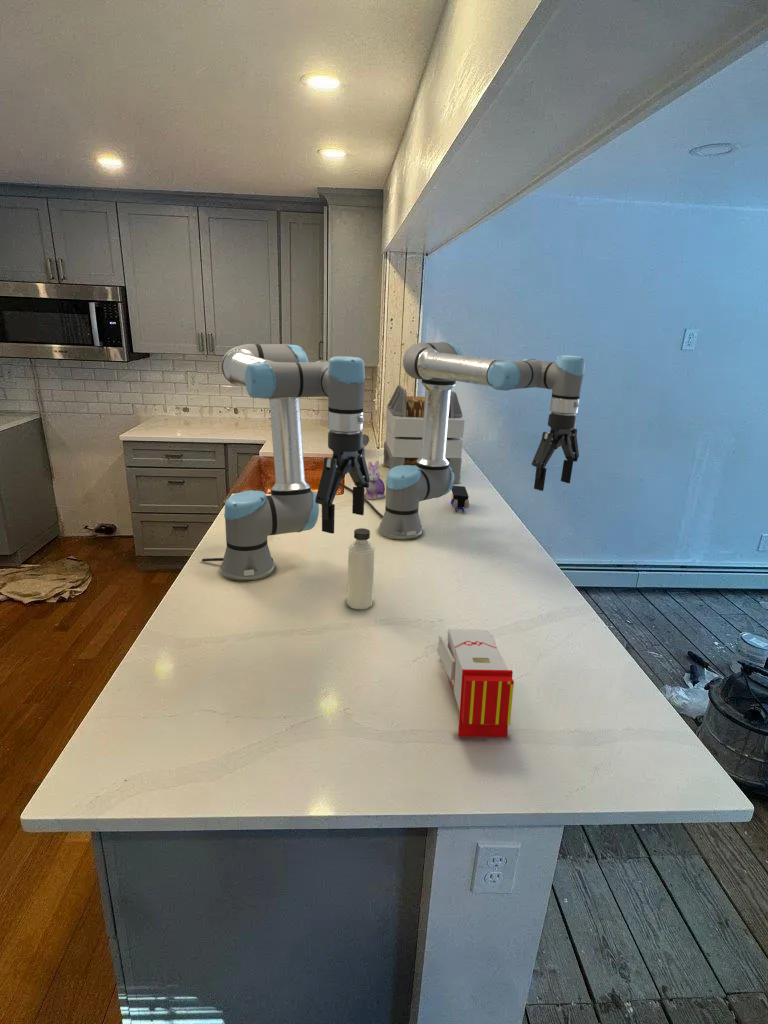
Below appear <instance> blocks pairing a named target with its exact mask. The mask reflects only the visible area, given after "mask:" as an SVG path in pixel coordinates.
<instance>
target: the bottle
mask: <svg viewBox="0 0 768 1024" xmlns="http://www.w3.org/2000/svg"><path fill="white" fill-rule="evenodd" d="M347 558H348V560H347V563H348V564H347V599H346V600H347V602H346V603H347V606H348V607H349V608H352V609H355V610H366V609H369V608H371V607H372V605H373V597H374V595H373V593H374V569H375V568H374V567H375V547H374V545H373V544H372V543H371V542H370V541H369V540H368V539H367V540H357V539H355V540H354V541H353V542H352V543H350V545H349V546H348V556H347Z"/></svg>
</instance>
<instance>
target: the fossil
mask: <svg viewBox="0 0 768 1024" xmlns="http://www.w3.org/2000/svg"><path fill="white" fill-rule="evenodd" d="M369 443H370V436H369V435H368V434H365V433H364V434H363V444H362V448H364V449H365V447H367V446H368V444H369Z"/></svg>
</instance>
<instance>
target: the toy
mask: <svg viewBox="0 0 768 1024" xmlns="http://www.w3.org/2000/svg"><path fill="white" fill-rule="evenodd" d="M446 640H447V643H446V641H445V639H444V636H443V635H442V634H439V637H438V646H437V656H438V657H439V659H440V661H441V663H442V666H443V668H444V670H445V672H446V674H447V677H448V679H449V681H450V684H451V687H452V690H453V693H454V697H455V701H456V705H457V708H458V711H459V714H458V715H459V716H458V730H457V731H458V732H457V737H458V738H508V731H509V726H510V725H511V717H512V707H513V697H514V696H513V695H514V684H515V680H514V679H513V673H514V671H513V670H512V669H508V667H507V665H506V662H505V661H504V659H503V658H502V655H501V653H500V651H499V649H498V647H497V643H496V639H495V637H494V635H493V634H491V632H490V631H489V629H467V628H466V629H465V628H463V629H461V628H460V629H459V628H448V630H447V639H446Z"/></svg>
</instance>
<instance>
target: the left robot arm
mask: <svg viewBox="0 0 768 1024" xmlns="http://www.w3.org/2000/svg"><path fill="white" fill-rule="evenodd" d="M220 363H221V365H220V367H221V368H220V369H221V372H222V375H223V377H224V378H225V380H226V381H228V382H229V383H230V384H232V385H235V386H237V387H240V388H241V387H245V388H246V391H247V395H249V397H250V398H253V399H261V400H263V399H265V400H269V411H270V413H269V414H270V426H271V439H272V453H273V466H274V480H275V482H274V484H273V485H272V487H271V488H270V495H267V494H266V492H264V491H262V490H254V489H250V490H243V491H240V492H236V493H234V494H232V495H230V496H229V497H227V499H226V500H225V502H224V514H223V517H224V522H225V523H224V524H225V525H224V526H225V542H226V548H225V551H224V555H223V557H211V558H210V557H209V558H207V557H206V558H202V559H201V561H202V562H221V566H220V568H221V569H220V570H221V574H222V575H223V577H225V578H227V579H229V580H232V581H237V582H238V581H239V582H250V581H251V582H252V581H257V580H261V579H264V578H267V577H268V576H269V577H270V575H272V574H273V573H274V571H275V561H274V558H273V556H272V554H271V551H270V547H269V545H268V537H269V536H277V535H278V536H279V535H283V534H292V533H302V532H306V531H311V530H312V529H313V528H315V526H316V524H317V522H318V519H319V515H320V514H319V512H320V505H321V532H323V533H328V534H334V533H335V507H336V506H335V504H334V503H333V502H334V500H335V498H336V495H337V492H338V490H339V487H340V486H341V485H340V483H342V480H343V479H344V478H345V477H346V475H347V474H349V476H350V479H351V480H352V482H353V484H354V486H353V487H352V490H353V492H352V506H351V507H352V509H351V512H352V514H354V515H358V516H364V515H365V501H364V498H365V491H366V488H368V487H369V484H368V483H369V482H370V477H369V473H368V471H369V468H368V466H367V465H368V464H367V461H366V455H365V447H364V448H362V444H363V435H364V434H363V432H362V430H363V429H364V421H365V418H364V405H365V404H364V401H365V381H366V374H365V372H366V371H365V370H366V369H365V361H364V360H363V359H362V358H361V357H357V356H348V355H347V356H345V355H338V356H332V357H330V358H329V360H318V361H309V358H308V356H307V353H306V352H305V350H304V349H303V347H301V346H300V345H297V344H289V343H279V344H278V343H270V344H269V343H246V344H241V345H240V344H239V345H237V346H234V347H233V348H231V349H229V350H228V351H227V352H225V354H224V355H223V357H222V359H221V362H220ZM316 397H318V398H321V397H322V398H323V397H325V398H327V401H328V406H327V407H328V409H327V412H328V413H327V429H328V430H329V431H328V432H327V447H328V449H329V450H331V451H332V456H331V457H324V459H323V467H322V468H323V469H322V472H321V476H320V480H319V483H318V488H317V492H315V491H313V490H312V489H311V485H310V484H309V483H308V482H306V479H305V478H306V475H305V461H304V448H303V446H304V445H303V431H302V418H301V415H302V414H301V401H300V400H301V398H316Z"/></svg>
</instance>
